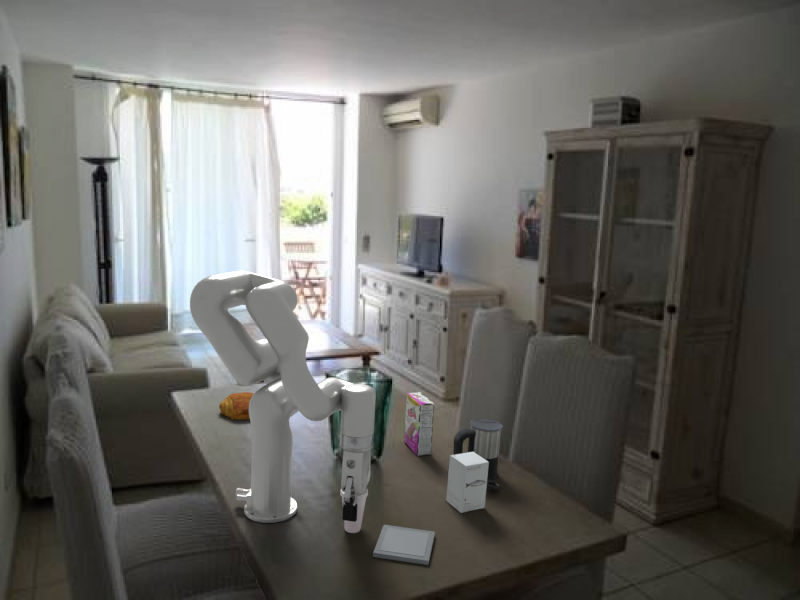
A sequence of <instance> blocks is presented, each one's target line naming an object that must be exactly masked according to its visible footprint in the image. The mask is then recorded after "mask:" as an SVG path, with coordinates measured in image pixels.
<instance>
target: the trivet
mask: <svg viewBox="0 0 800 600" xmlns="http://www.w3.org/2000/svg"><path fill="white" fill-rule="evenodd" d="M435 534H436V531H433V530H425V529H419V528H412V527H411V528H410V527H405V526H404V527H403V526H397V525H396V526H395V525H390V524H383V526H382V528H381V531H380V534H379V537H378V539H377V542H376V545H375V547H374V550H373V553H372V557H373V558H377V559H386V560H390V561H391V560H393V561H400V562H404V563H405V562H406V563H412V564H419V565H425V566H429V564H430V559H431V555H432V554H431V553H432V550H433V545H434V540H435V536H436V535H435Z"/></svg>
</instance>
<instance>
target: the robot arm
mask: <svg viewBox="0 0 800 600" xmlns="http://www.w3.org/2000/svg"><path fill="white" fill-rule="evenodd" d="M193 287H194V288H192V290H191V294H190V299H189V311H190V314H191V317H192V319H193V321H194V323H195V324H196V326H197V328H198V329H199V330H200V331H201V333H202V334H203V335H204V337H206V339H207V340H208V342H209V343H210V345H211V347H212V348H213V350H214V351H215V352H216V354H217V355H218V357H219V358H220V360H221V362H222V363H223V365H224V366H225V368H226V369H227V371H228V372H229V374H230V376H232V378H233V379H234V380H235V381H236V383H237V384H238V385H240V386H244V387H250V386H253V385H256V384H258V383H260V382H262V381H263V382H264V383H265V385H263V386H261V387H260V388H259V389H257V390H256V391H255V392H253V393H254V394H253V396H252V398H251V400H250V402H249V417H250V419H249V420H250V428H251V469H250V470H251V474H250V475H251V479H250V480H251V481H250V488H249V489H246V488H241V487H237V488H236V489H235V494H234V495H235V496H236V497H235V501H241V502H245V504H244V506H243V513H244V515H245V516H246V517H247V518H248V519H250V520H252V521H253V522H257V523H262V524H272V523H280V522H283V521H284V522H285V521H286V520H289V519H291V518H292V517H293V516H295V514H296V513H297V511H298V502H297V501H296V500H295V499H294V498H292V481H293V479H292V477H293V474H292V473H293V447H294V446H293V444H294V443H293V442H294V441H293V432H292V429H291V425H290V419H291V418H292V417H293V416H294V415H296V414H297V413H298V412H299V413H300V414H301V415H302V416H303V417H304V418H305V419H307V420H309V421H311V422H321V421H324V420H325V419H328V418H329V417H330V416H331V415H333V414H334V413H336V412H339V411H340V412H341V413H340V433H339V446H340V448H342V449H343V452H342V465H341V479H340V480H341V482H340V485H341V488H340V490H341V489H342V491H343V492H345V493H344V501H343V505H342V520H343V521H344V520H346V521H353V522H356V520H357V505H358V504H356V501H357V493H359V494H362V493H363V492H364V490H365V488H367V486H368V484H369V481H370V479H371V470H372V469H371V463H372V462H371V460H372V459H371V455H372V453H371V451H372V450H371V449H373V447H374V435H375V433H374V432H375V417H376V415H375V412H376V397H377V396H376V395H377V394H376V390H375V389H374V387H372V386H370V385H368V384H363V383H353V382H349V381H347V380H343V379H341V378H338V377H326V378H325V379H323V380H320V381H319V382H317V381H316V380H315V378H314V377H313V376H312V373H311V372H310V370H309V367H308V364H307V357H306V356H307V354H306V353H307V348H308V344H309V341H310V340H309V339H310V337H309V334H308V331H307V330H306V329H305V327H304V326H303V325H302V323H301V322H300V320H299V319H298V317H297V315H296V314H295V313H294V311H295V309H296V308H297V305H298V295H297V292H296V291H295V288H294V287H293V286H292V285H291V284H289V283H288V282H285V281H283V280H281V279H276V278H272V277H269V276H267V275H266V276H265V275H262V274H258V273H254V272H250V271H245V270H235V271H234V270H233V271H229V272H227V271H226V272H223V273H217V274H212V275H209V276H207V277H204V278H202V279H201V280H200V281H198V282H197V283H196V284H195V285H194V286H193ZM239 306H245V308H246V310H247V312H248V315H250V317H251V319H252V320H253V322H254V324H256V326H257V328H258V329H259V330H260V332H261V333H262V335H263V336H264V338H261V339H257V340H254V339H253V338H252V336H251V335H250V334H249V333H248V331H247V329H246V327H245V326H244V325H243V324H242V322H241V321H240V320H239V319H237V318H236V317H235V316H234V315H232V314H231V313H230V312H229V309H233V308H236V307H239ZM352 488H354V489H355V491H352ZM351 494H354V499H353V498H352V497H351Z"/></svg>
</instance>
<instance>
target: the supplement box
mask: <svg viewBox="0 0 800 600" xmlns="http://www.w3.org/2000/svg"><path fill="white" fill-rule="evenodd" d="M488 466H489V462H488V461H487V460H485V459H484V458H482V457H481V456H479V455H477V454H476V453H474V452H468V451H467V452H463V453H462V454H456V455H453V454H452V455H451V454H450V455H449V463H448V475H447V489H446V499H445V500H446V502H447V503H448V504H449V505H451V506H452V507H453V508H454V509H456V510H457V511H458V512H459V513H460V514H463V513H467V512H470V511H476V510H481V509H485V508H486V498H487V477H488Z"/></svg>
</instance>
